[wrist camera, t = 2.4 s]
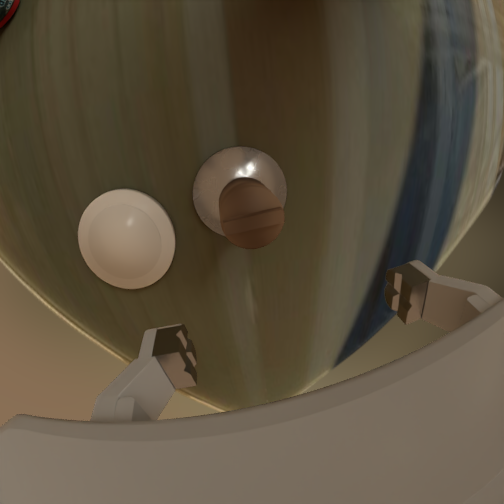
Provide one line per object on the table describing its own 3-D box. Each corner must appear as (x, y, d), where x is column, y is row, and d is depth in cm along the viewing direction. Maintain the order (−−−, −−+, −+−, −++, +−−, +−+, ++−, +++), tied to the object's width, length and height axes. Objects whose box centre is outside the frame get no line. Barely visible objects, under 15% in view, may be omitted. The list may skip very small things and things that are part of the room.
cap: (265, 172, 24) (281, 183, 19) (274, 221, 26) (291, 244, 21) (213, 183, 24) (213, 198, 19) (225, 233, 26) (229, 259, 21)
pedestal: (276, 138, 28) (288, 139, 23) (290, 224, 32) (303, 240, 27) (183, 158, 27) (177, 163, 23) (205, 244, 31) (205, 263, 27)
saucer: (158, 175, 27) (156, 176, 26) (188, 272, 33) (187, 278, 31) (69, 206, 27) (63, 209, 26) (104, 292, 32) (100, 297, 31)
